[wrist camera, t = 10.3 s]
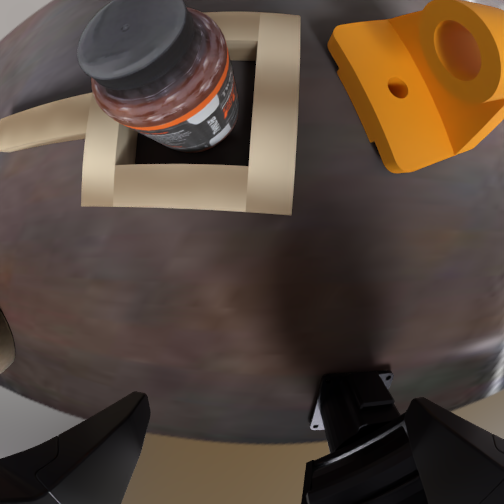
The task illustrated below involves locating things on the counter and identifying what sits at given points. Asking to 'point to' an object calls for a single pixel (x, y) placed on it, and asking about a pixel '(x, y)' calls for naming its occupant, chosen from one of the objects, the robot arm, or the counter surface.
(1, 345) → the pillar candle
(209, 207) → the wooden frame with handle
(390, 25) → the bracket
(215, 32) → the supplement bottle
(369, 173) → the counter surface
